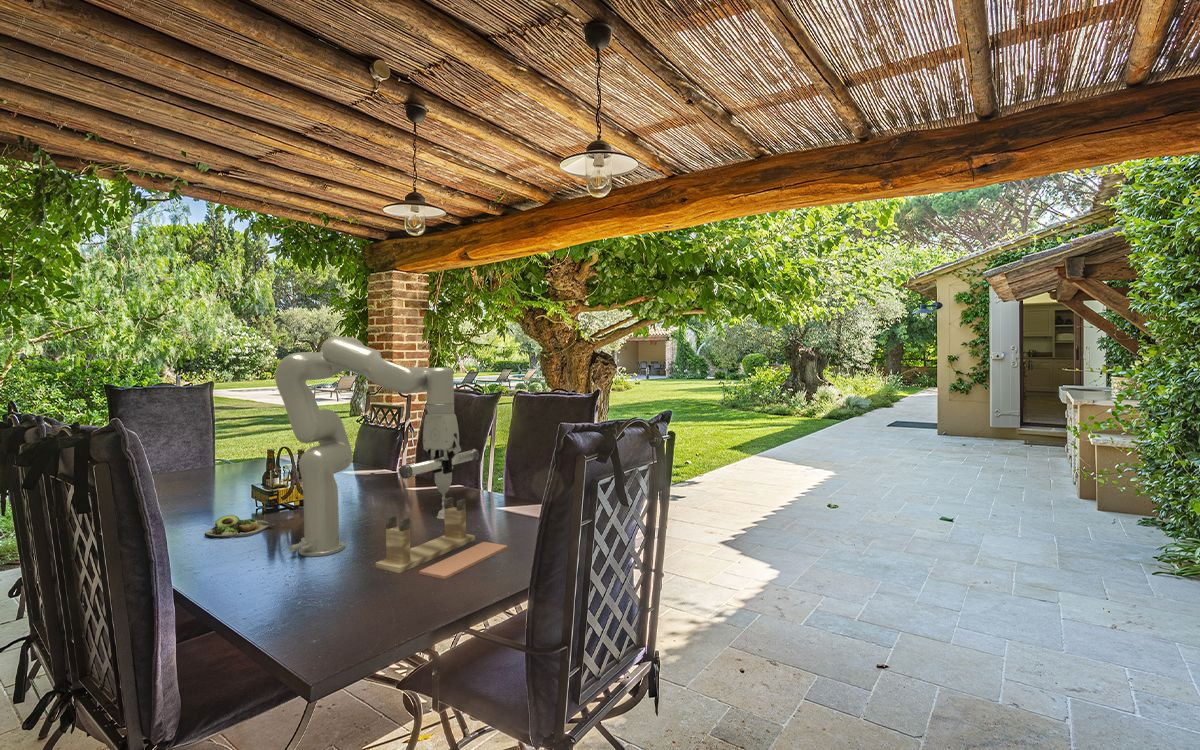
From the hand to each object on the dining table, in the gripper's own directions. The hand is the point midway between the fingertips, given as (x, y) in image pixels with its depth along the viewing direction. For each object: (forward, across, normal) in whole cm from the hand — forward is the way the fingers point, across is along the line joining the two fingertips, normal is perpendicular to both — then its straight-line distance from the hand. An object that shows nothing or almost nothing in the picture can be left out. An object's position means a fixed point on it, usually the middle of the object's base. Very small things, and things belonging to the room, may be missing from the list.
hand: (442, 472), depth 176 cm
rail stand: (+25, -6, 0) cm, 25 cm away
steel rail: (-3, 0, 0) cm, 3 cm away
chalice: (+25, -29, +33) cm, 50 cm away
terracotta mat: (+25, +8, 0) cm, 26 cm away
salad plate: (+24, -80, -10) cm, 84 cm away
